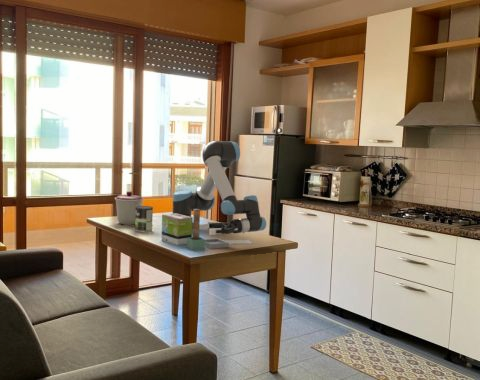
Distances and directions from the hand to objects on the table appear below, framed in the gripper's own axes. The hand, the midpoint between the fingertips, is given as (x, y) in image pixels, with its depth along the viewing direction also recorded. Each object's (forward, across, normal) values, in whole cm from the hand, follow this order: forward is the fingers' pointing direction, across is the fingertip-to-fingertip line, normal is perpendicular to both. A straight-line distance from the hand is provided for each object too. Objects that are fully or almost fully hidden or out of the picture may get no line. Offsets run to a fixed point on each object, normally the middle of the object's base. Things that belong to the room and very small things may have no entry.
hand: (203, 229), depth 239 cm
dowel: (+4, +1, -10) cm, 10 cm away
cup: (+4, +1, -10) cm, 11 cm away
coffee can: (+12, +56, -10) cm, 58 cm away
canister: (+14, +80, -10) cm, 82 cm away
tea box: (+7, +19, -10) cm, 23 cm away
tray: (-8, +4, -10) cm, 14 cm away
